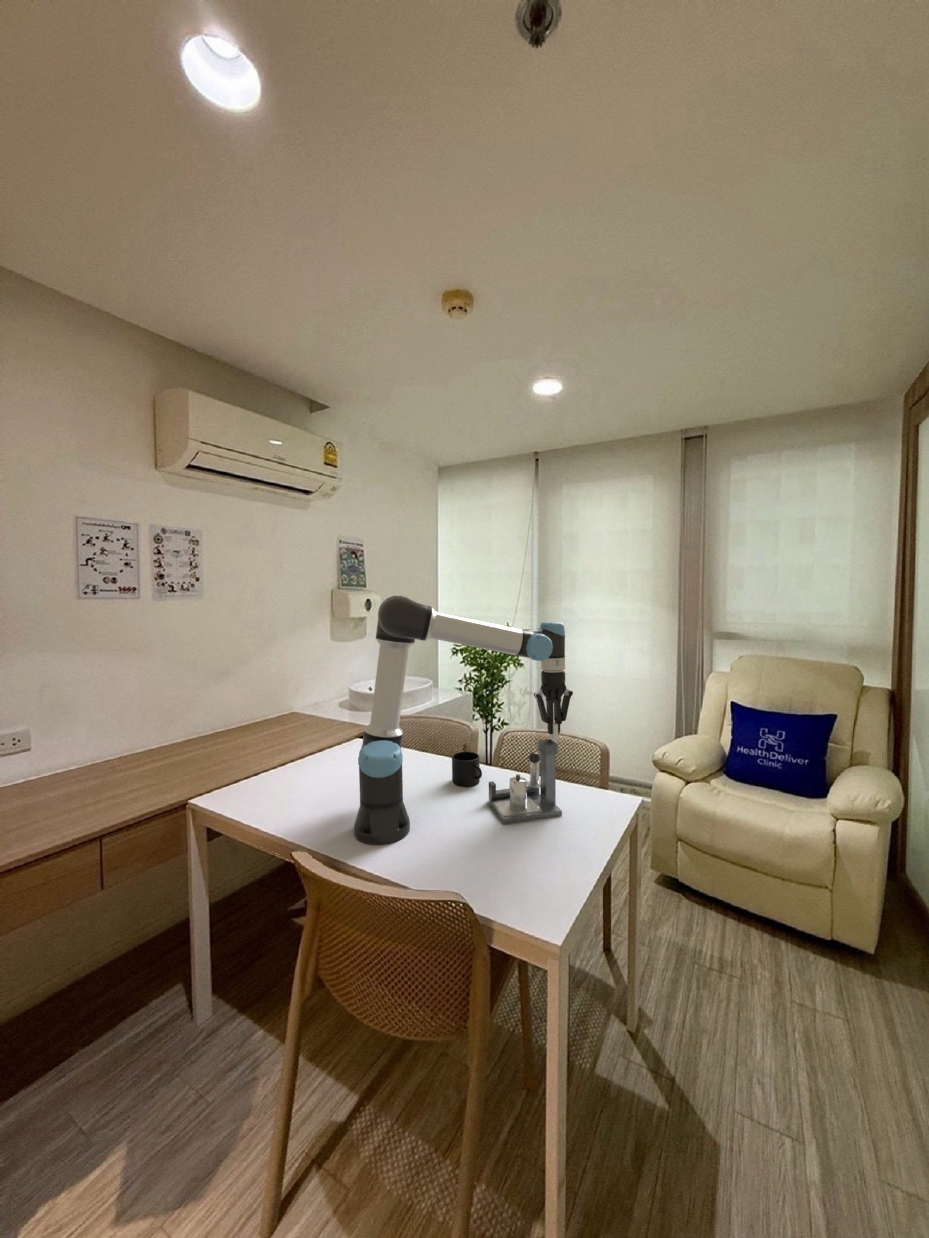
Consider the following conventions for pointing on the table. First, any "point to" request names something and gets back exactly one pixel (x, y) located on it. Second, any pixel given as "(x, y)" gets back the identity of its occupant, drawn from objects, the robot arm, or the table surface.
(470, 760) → the mug
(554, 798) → the press
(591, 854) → the table surface
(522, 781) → the housing
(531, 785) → the lever
